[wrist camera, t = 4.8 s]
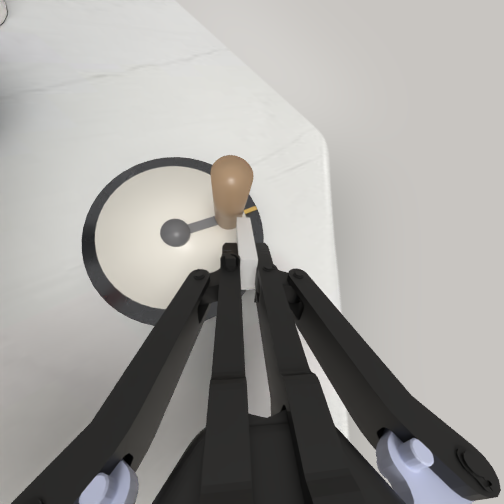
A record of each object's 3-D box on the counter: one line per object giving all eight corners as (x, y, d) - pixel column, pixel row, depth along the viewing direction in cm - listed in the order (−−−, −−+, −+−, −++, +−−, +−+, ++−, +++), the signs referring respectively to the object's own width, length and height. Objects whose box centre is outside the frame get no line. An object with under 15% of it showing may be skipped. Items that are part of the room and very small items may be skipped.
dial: (83, 300, 20) (-49, 316, 10) (119, 159, 23) (41, 66, 13) (239, 314, 22) (253, 339, 12) (254, 183, 25) (275, 119, 15)
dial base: (52, 227, 22) (38, 222, 21) (194, 137, 27) (192, 127, 25) (165, 363, 22) (160, 369, 20) (291, 249, 26) (296, 247, 24)
